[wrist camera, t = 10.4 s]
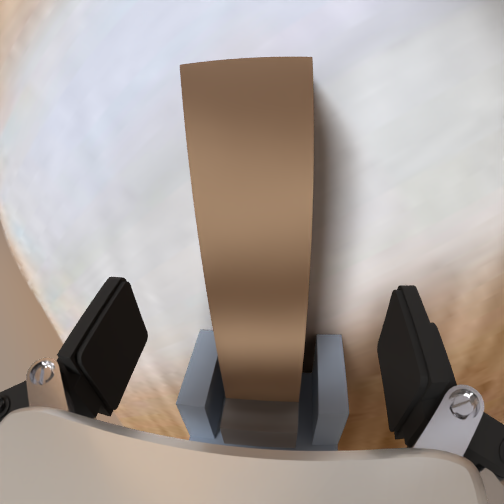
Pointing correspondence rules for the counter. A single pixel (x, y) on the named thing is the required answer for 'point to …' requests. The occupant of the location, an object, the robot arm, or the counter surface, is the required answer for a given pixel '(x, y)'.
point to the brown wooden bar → (254, 231)
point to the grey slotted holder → (310, 400)
